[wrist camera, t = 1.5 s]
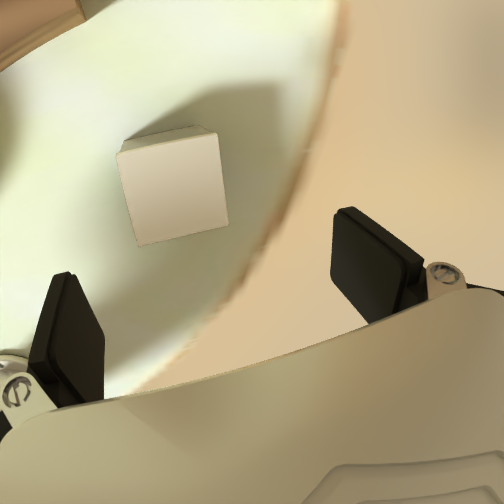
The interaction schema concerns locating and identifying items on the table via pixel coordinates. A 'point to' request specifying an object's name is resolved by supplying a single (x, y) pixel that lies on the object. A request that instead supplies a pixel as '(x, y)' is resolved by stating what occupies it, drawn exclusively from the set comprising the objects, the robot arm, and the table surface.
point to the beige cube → (173, 184)
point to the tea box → (34, 25)
